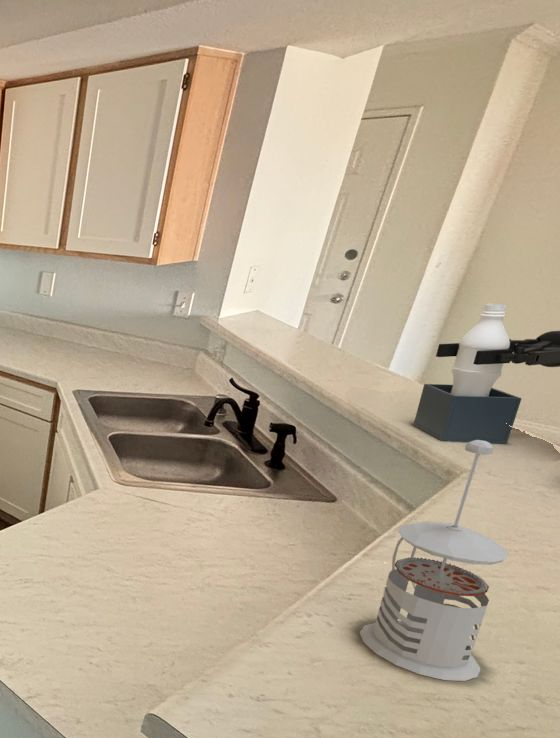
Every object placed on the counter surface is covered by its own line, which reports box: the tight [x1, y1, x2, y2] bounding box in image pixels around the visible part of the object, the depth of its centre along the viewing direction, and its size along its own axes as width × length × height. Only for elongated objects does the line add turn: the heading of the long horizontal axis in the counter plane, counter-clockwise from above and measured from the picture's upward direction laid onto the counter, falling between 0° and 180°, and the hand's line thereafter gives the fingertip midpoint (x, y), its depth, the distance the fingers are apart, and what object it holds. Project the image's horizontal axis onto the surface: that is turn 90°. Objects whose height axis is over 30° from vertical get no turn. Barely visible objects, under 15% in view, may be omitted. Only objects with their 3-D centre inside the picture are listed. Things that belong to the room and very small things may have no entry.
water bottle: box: [450, 302, 510, 397], centre depth 122 cm, size 7×7×25 cm
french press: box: [359, 440, 509, 682], centre depth 63 cm, size 10×12×25 cm
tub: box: [412, 383, 522, 445], centre depth 126 cm, size 11×11×10 cm
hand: (457, 354), depth 122 cm, fingers closed on water bottle, 7 cm apart
